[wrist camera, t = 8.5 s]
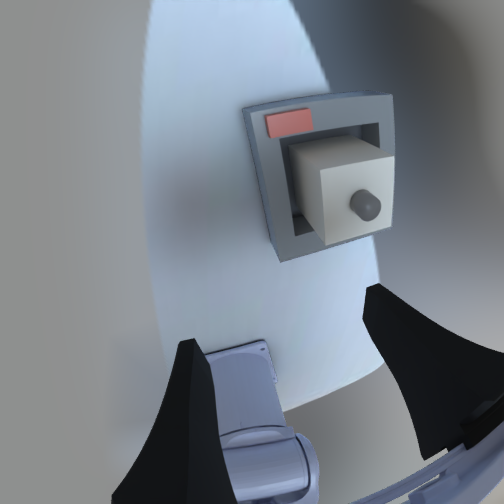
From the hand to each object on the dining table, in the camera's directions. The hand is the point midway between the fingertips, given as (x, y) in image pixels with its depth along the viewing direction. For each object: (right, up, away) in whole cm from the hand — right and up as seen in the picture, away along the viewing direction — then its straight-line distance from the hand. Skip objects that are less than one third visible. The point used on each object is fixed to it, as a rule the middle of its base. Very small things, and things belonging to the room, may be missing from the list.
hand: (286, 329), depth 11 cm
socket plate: (+3, +9, +7) cm, 12 cm away
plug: (+4, +9, +7) cm, 12 cm away
